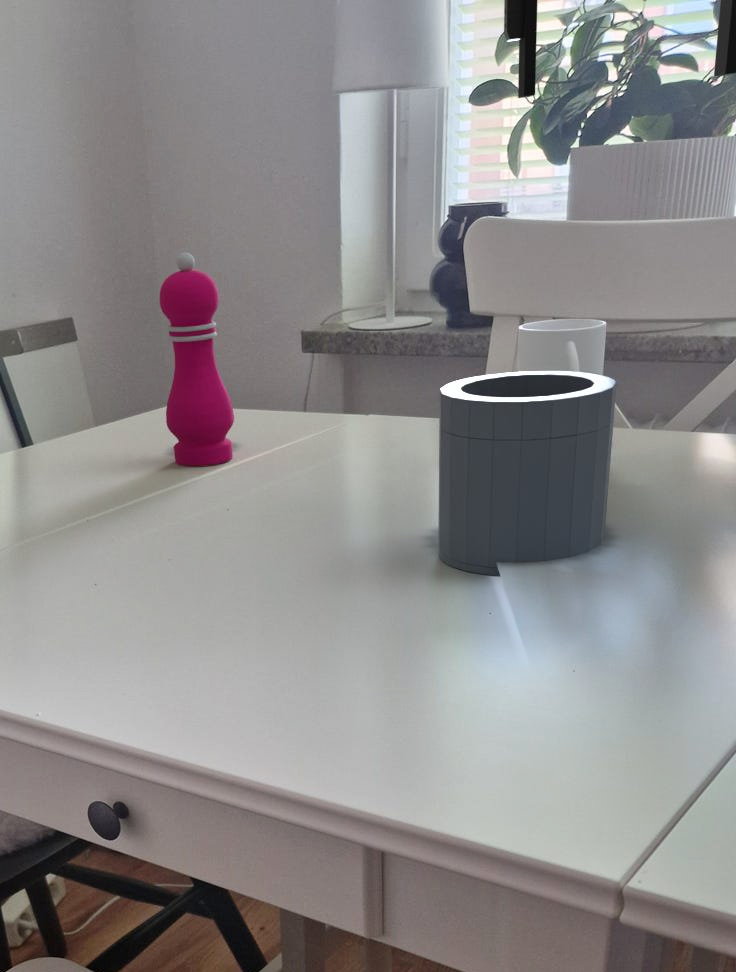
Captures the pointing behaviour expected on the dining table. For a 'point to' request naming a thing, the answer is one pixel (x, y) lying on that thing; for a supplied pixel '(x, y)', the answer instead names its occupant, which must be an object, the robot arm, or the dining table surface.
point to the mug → (562, 346)
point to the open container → (523, 467)
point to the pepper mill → (195, 369)
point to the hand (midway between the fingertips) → (625, 86)
